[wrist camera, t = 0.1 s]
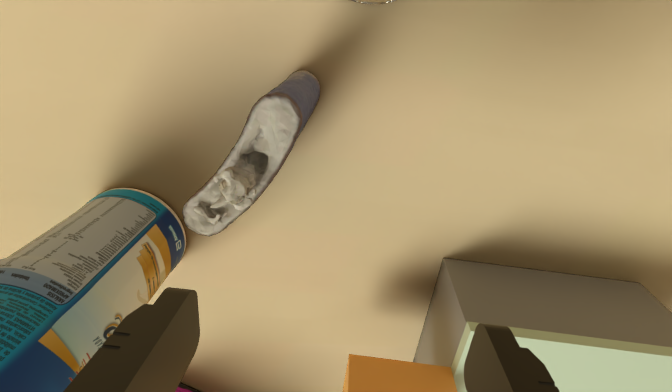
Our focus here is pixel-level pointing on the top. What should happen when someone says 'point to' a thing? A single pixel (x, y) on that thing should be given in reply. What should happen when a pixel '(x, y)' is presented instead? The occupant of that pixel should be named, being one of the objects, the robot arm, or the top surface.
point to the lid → (550, 348)
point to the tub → (536, 307)
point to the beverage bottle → (82, 285)
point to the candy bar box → (184, 388)
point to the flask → (254, 155)
